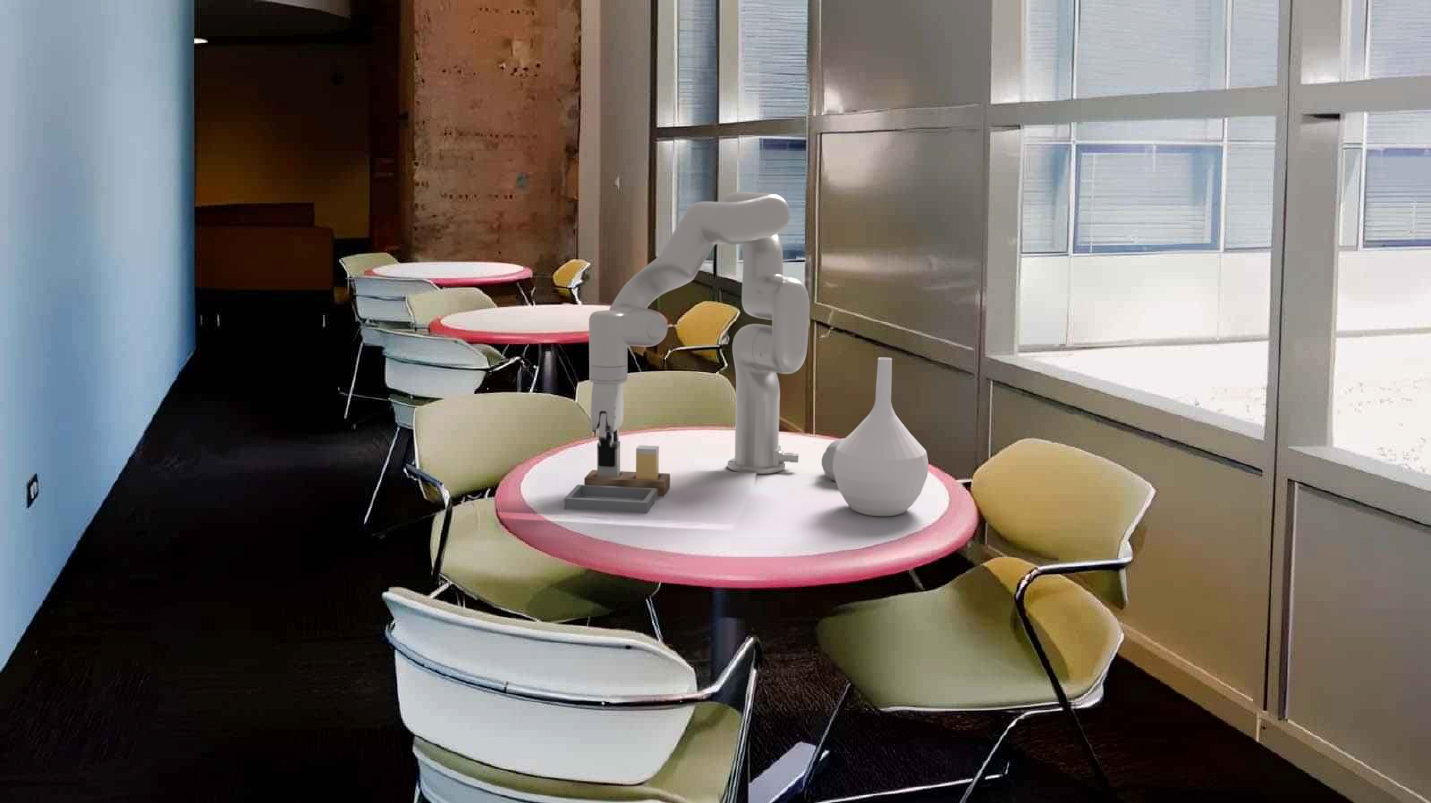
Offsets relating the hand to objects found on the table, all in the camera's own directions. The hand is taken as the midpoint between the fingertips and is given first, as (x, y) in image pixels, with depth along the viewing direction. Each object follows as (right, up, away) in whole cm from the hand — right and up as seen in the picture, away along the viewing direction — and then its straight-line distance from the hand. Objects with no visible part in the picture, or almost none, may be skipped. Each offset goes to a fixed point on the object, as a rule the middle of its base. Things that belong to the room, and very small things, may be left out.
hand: (608, 463), depth 263 cm
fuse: (+8, -6, 0) cm, 9 cm away
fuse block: (+4, -6, +1) cm, 7 cm away
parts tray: (+1, -8, -10) cm, 13 cm away
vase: (+53, -9, -7) cm, 54 cm away
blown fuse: (0, -5, +1) cm, 5 cm away
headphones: (+54, -5, +17) cm, 57 cm away
